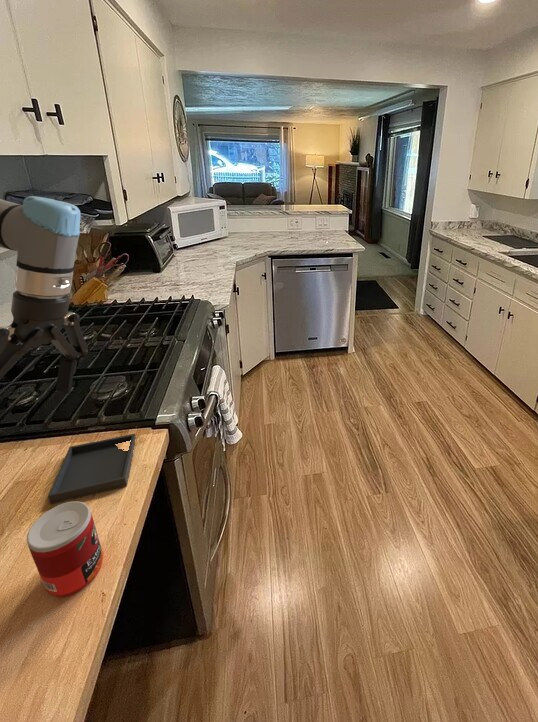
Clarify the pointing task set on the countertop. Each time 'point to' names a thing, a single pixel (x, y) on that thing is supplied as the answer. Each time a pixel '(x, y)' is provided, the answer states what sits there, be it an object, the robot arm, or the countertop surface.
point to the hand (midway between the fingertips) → (28, 406)
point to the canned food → (65, 548)
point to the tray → (93, 469)
